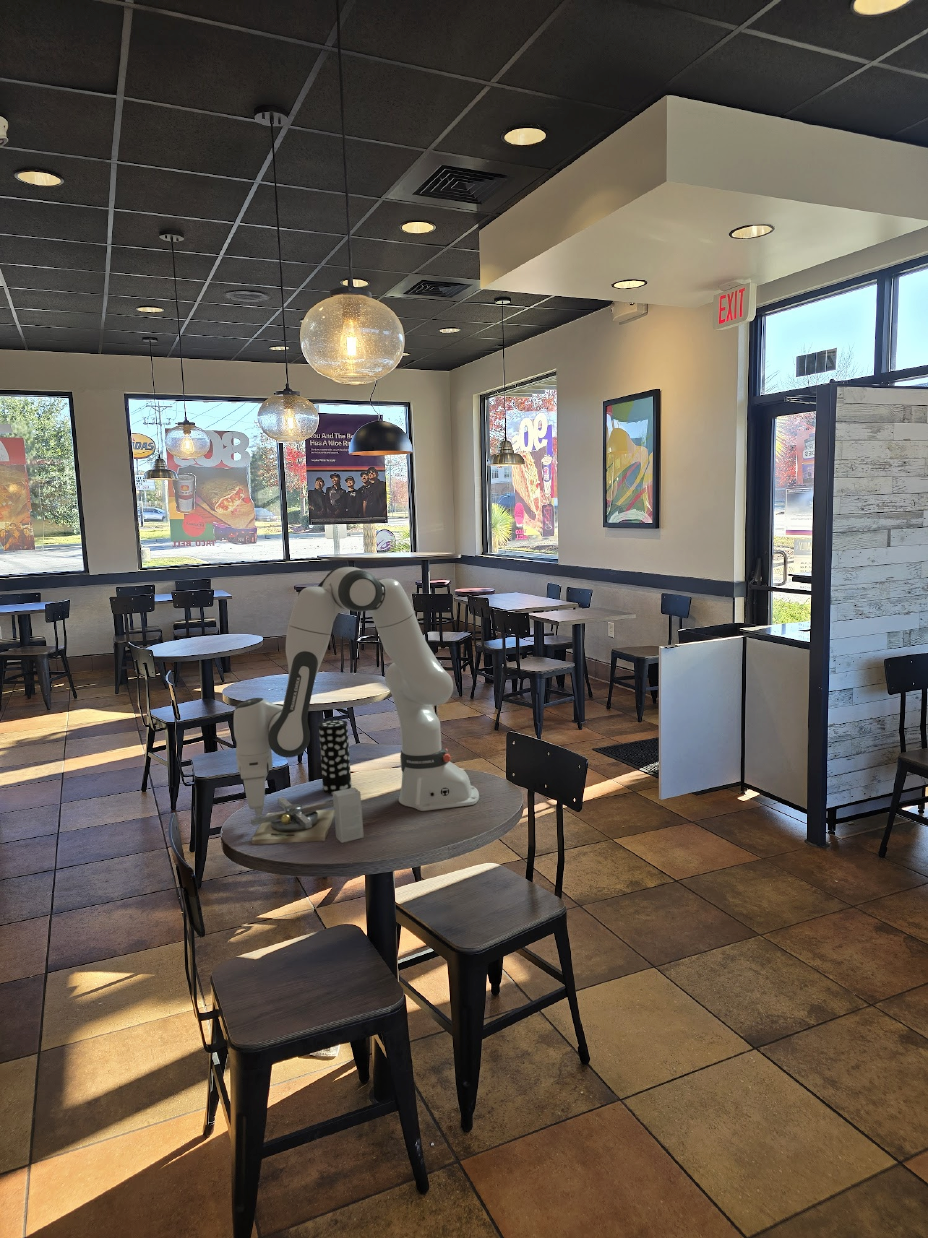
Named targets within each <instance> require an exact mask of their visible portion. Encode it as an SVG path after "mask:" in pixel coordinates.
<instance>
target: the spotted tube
mask: <svg viewBox="0 0 928 1238" xmlns="http://www.w3.org/2000/svg"><path fill="white" fill-rule="evenodd" d="M348 725H349V724H348V721H346V720H342V719H330V720H325V721H322V722H321V721H320V722H319V723H318V734H319V735H318V736H319V737H318V738H319V747H320V748H319V750H320V751H319V752H320V765H321V779H322V781H321V783H322V792H323V793H325V794H327V795H333V792H335V791H340V790H345V789H350V788H352V779H351V778H352V775H351V760H350V759H351V758H350V743H349V742H350V741H349V729H348Z"/></svg>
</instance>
